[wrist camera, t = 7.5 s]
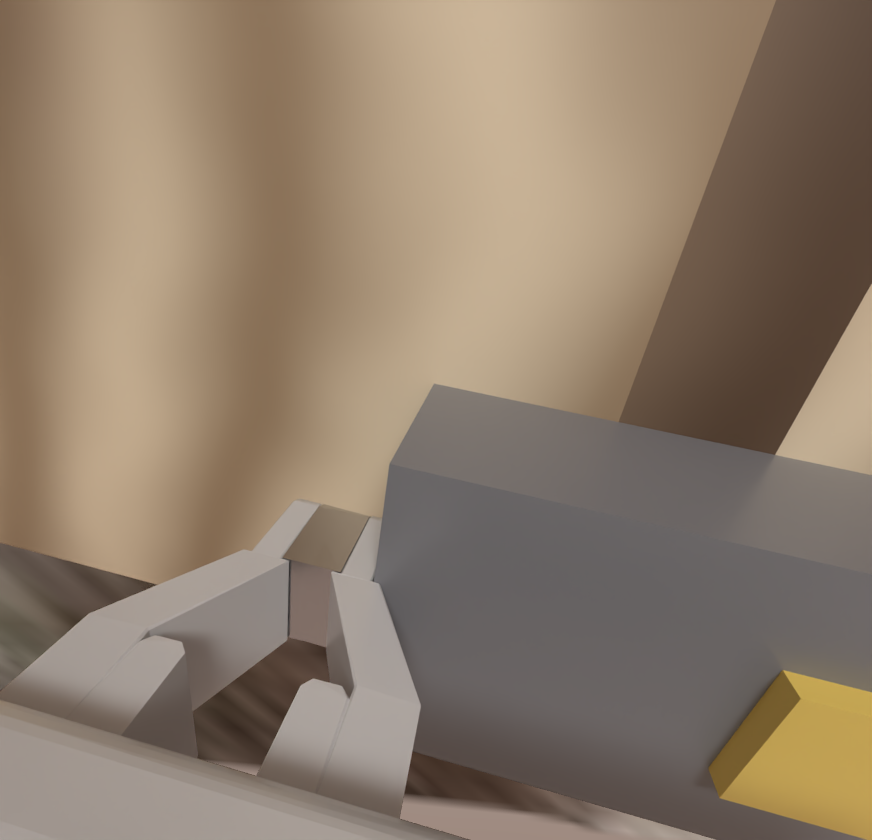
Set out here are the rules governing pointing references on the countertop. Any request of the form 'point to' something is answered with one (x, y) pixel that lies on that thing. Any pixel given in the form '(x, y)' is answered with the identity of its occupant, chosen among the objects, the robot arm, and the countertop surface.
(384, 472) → the subfloor panel
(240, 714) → the countertop surface
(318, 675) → the countertop surface
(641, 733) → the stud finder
